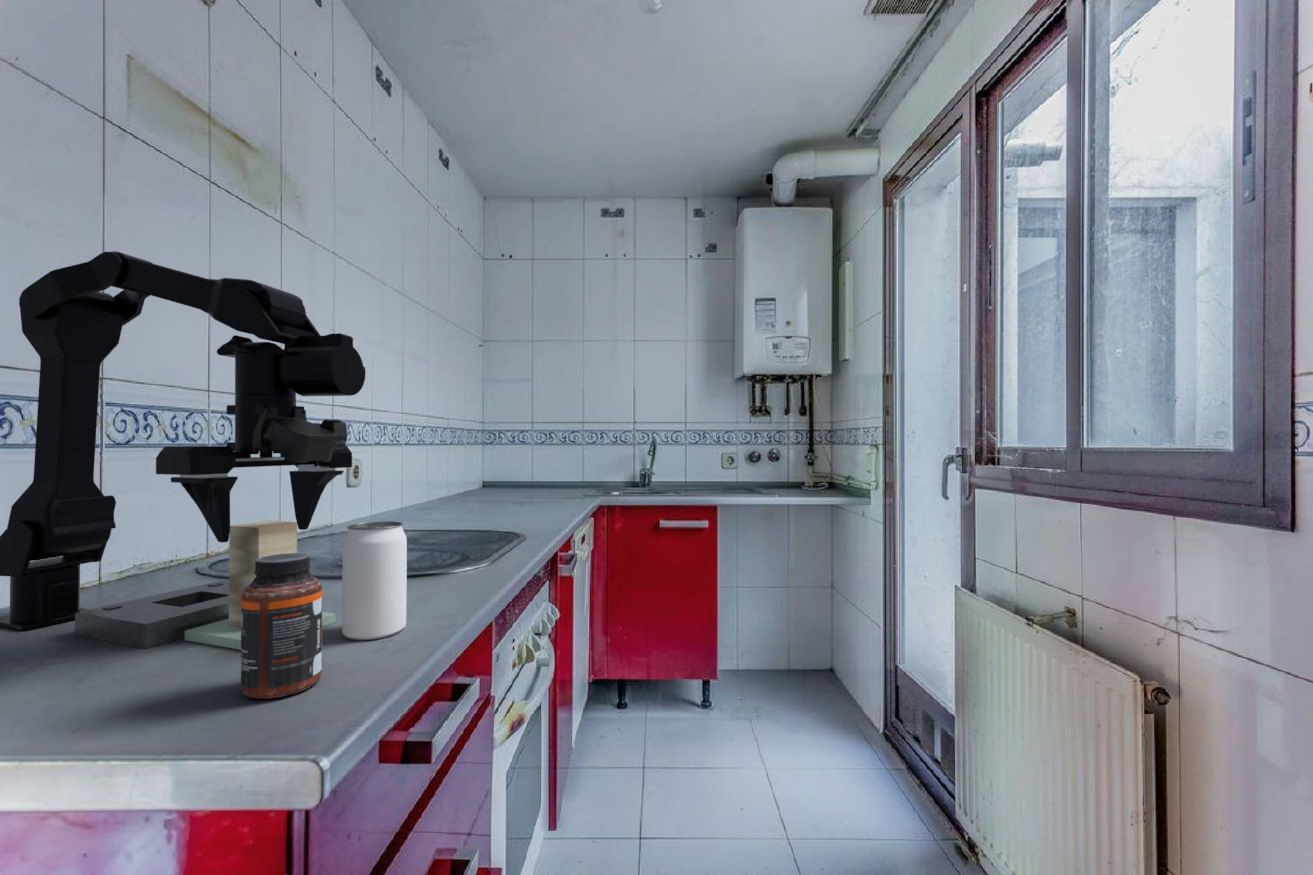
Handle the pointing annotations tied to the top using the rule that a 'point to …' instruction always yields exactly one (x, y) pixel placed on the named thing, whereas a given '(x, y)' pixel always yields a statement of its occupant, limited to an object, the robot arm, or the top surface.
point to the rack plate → (156, 616)
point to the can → (374, 580)
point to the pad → (229, 632)
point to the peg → (254, 555)
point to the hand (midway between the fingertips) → (265, 535)
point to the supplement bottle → (281, 628)
